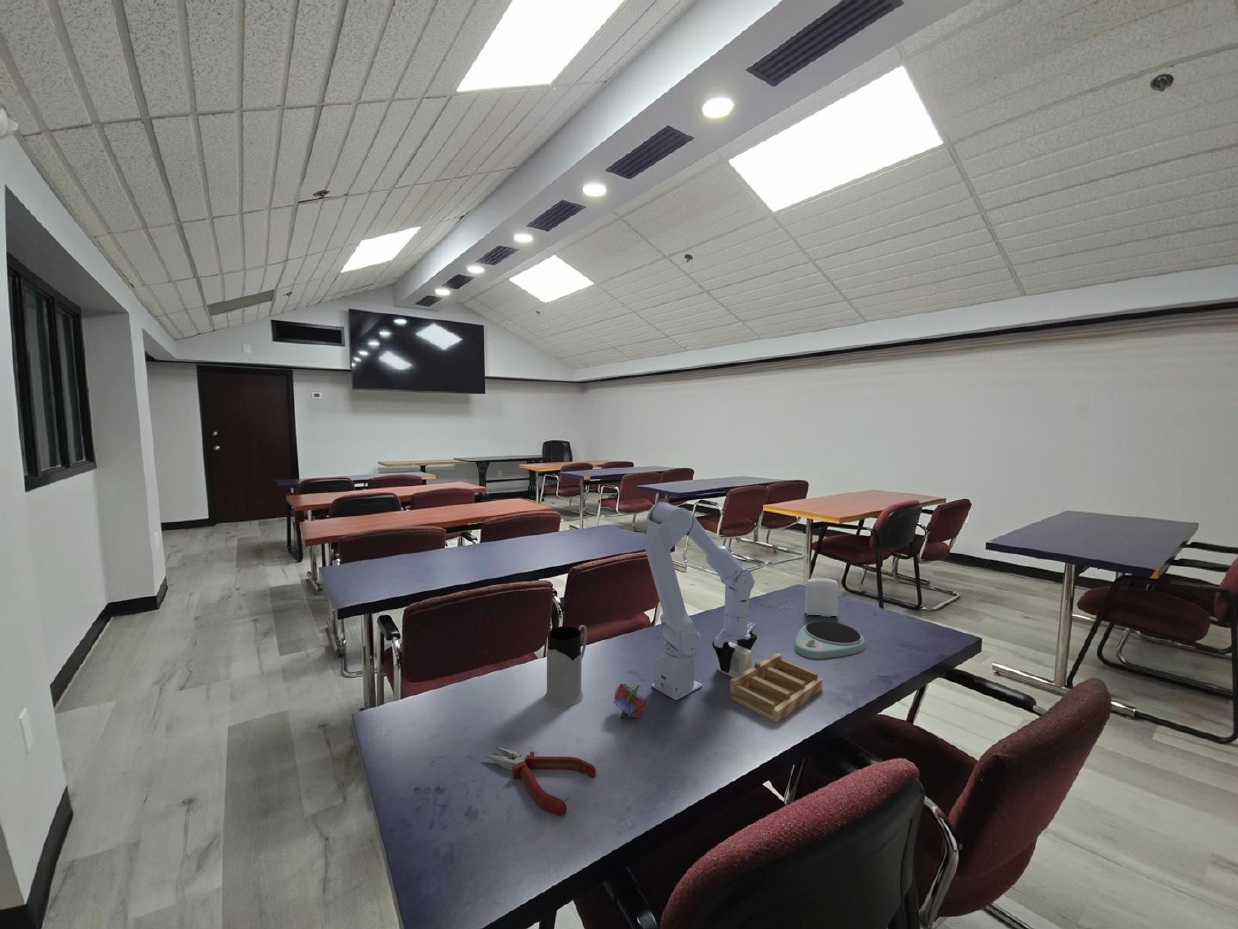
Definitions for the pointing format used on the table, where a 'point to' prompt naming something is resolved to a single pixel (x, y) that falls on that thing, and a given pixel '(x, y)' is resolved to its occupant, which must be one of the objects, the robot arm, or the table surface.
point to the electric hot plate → (828, 640)
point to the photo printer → (821, 597)
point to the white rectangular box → (738, 660)
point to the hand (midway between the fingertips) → (733, 666)
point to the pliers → (531, 762)
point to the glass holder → (564, 666)
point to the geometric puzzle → (629, 700)
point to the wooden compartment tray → (774, 687)
